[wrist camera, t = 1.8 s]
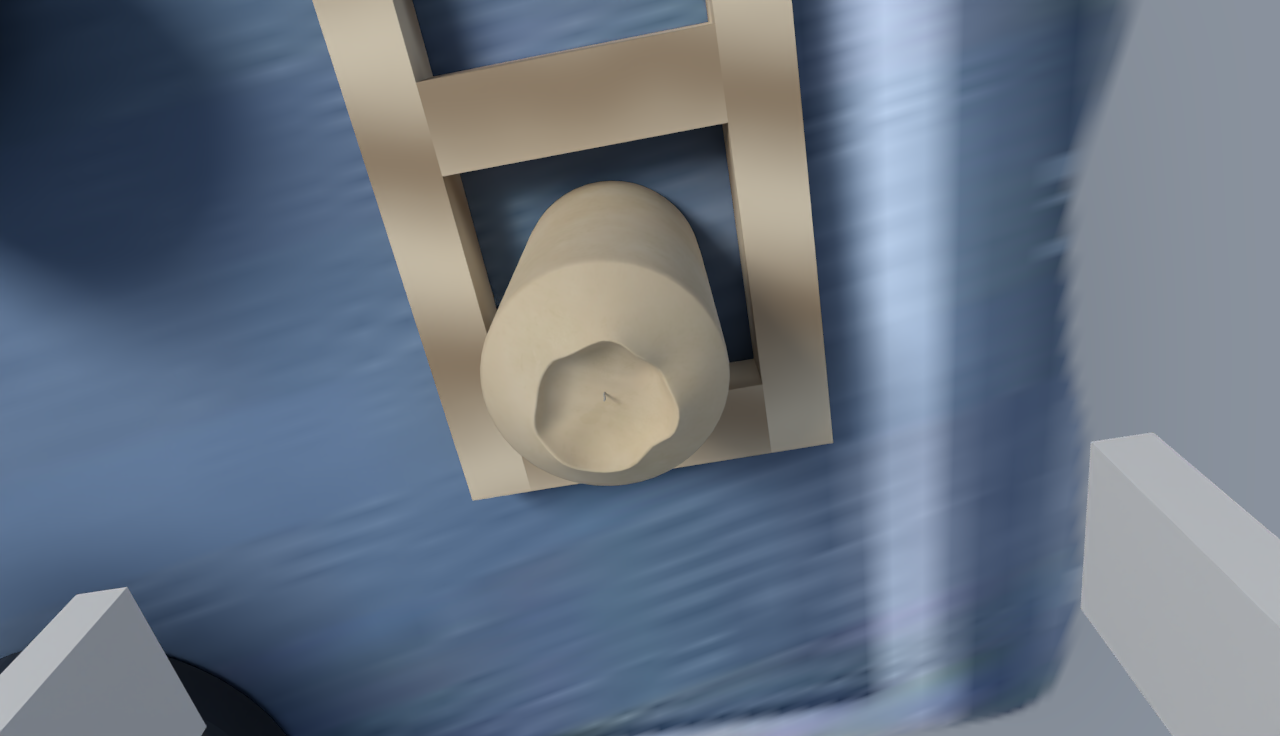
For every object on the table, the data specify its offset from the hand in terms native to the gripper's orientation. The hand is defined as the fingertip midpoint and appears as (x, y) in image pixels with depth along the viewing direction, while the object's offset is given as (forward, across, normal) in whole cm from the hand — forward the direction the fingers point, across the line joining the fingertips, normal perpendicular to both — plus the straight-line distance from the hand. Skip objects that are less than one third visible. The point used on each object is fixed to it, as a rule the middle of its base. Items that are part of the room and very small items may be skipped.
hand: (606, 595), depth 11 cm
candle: (+16, 0, 0) cm, 16 cm away
